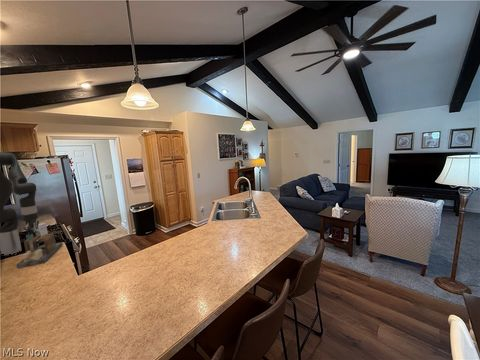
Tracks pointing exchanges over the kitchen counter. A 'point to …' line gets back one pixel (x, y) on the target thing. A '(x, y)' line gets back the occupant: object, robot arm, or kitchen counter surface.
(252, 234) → the kitchen counter surface
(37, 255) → the slider block
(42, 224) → the syrup box
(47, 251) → the tunnel
